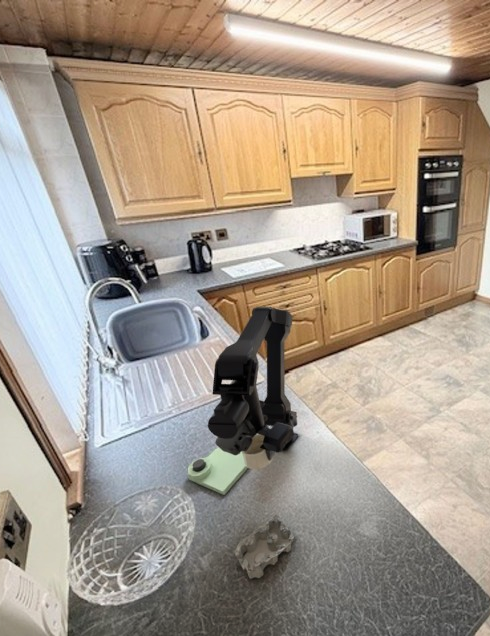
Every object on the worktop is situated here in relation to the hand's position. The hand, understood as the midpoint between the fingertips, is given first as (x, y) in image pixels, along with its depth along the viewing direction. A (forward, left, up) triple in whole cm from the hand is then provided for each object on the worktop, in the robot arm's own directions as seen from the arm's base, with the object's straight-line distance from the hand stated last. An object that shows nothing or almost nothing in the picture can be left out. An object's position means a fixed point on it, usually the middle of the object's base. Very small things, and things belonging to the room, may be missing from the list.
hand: (258, 454), depth 82 cm
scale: (-2, -14, -11) cm, 18 cm away
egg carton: (+13, +10, -11) cm, 20 cm away
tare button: (+4, -18, -8) cm, 20 cm away
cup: (0, 0, -2) cm, 2 cm away
